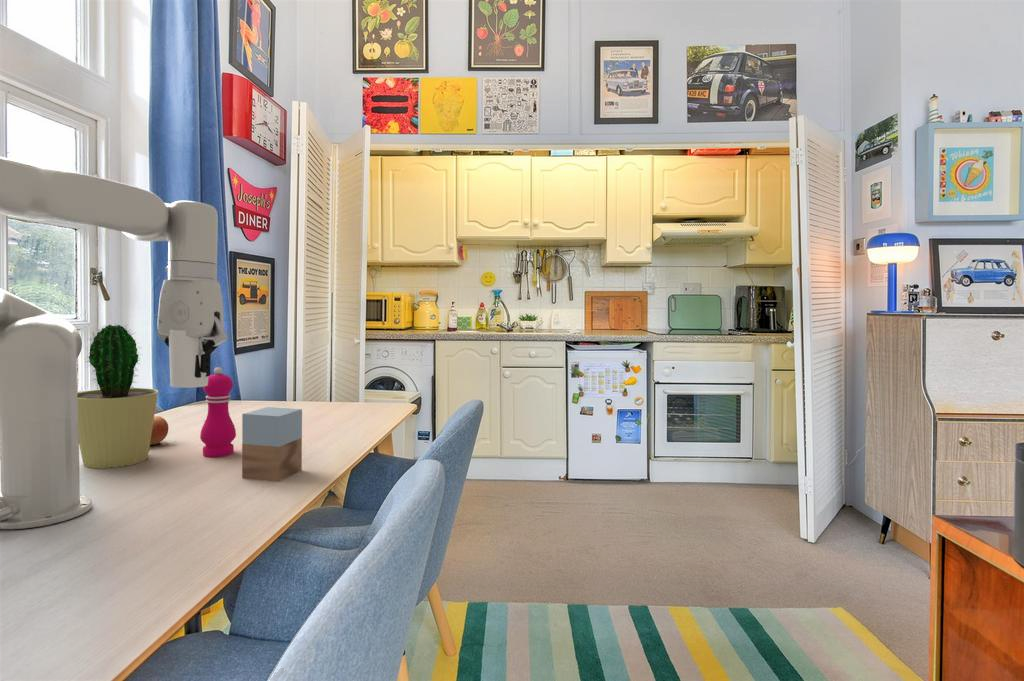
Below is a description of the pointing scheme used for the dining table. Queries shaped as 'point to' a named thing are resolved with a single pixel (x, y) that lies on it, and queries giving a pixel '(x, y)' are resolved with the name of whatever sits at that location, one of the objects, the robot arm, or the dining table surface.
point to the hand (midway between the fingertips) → (191, 375)
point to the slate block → (271, 426)
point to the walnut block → (271, 461)
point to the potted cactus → (115, 404)
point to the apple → (158, 430)
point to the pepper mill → (218, 417)
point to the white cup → (184, 360)
